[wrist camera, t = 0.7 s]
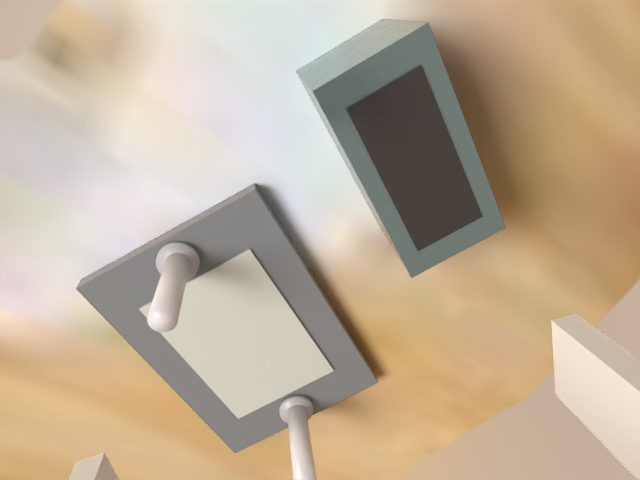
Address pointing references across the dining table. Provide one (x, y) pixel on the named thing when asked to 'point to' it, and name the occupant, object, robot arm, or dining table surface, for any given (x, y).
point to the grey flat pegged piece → (234, 325)
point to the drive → (405, 141)
